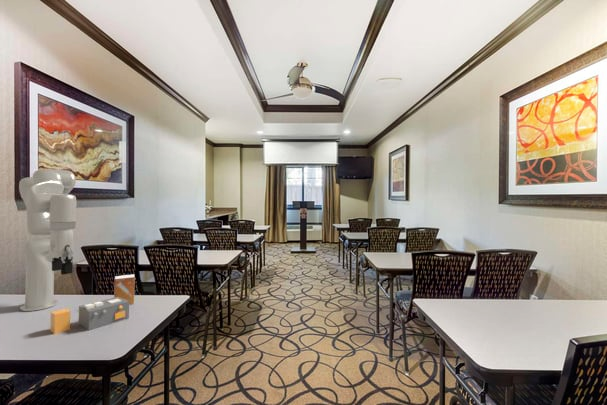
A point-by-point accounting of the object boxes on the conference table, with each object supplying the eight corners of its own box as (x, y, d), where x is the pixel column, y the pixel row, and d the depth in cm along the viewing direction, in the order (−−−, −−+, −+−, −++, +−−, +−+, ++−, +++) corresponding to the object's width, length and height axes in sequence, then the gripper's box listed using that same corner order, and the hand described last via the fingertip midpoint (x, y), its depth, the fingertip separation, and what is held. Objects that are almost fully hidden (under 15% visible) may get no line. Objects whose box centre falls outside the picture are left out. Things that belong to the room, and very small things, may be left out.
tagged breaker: (106, 315, 116) (106, 301, 116) (117, 312, 119) (117, 298, 119) (110, 317, 114) (111, 303, 114) (121, 314, 117) (121, 300, 117)
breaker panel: (78, 323, 110) (79, 303, 110) (117, 312, 122) (118, 294, 122) (89, 330, 104) (90, 309, 105) (129, 318, 116) (129, 299, 116)
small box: (113, 307, 128) (114, 279, 129) (114, 303, 134) (114, 276, 134) (134, 304, 133) (134, 276, 133) (133, 300, 138) (134, 273, 138)
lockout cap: (50, 330, 104) (50, 312, 104) (65, 326, 108) (66, 308, 108) (54, 334, 102) (54, 314, 102) (69, 329, 105) (70, 311, 105)
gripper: (42, 226, 107) (41, 270, 107) (58, 228, 97) (57, 277, 97) (66, 225, 113) (66, 267, 113) (84, 227, 104) (83, 273, 103)
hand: (61, 271), depth 105 cm, fingers open, 9 cm apart
